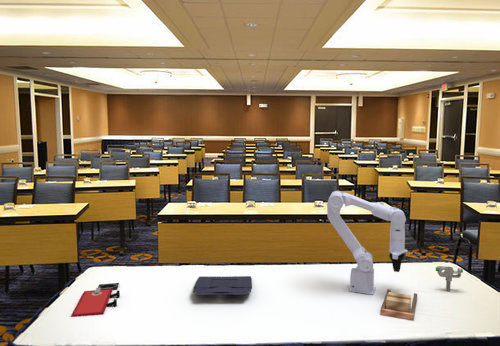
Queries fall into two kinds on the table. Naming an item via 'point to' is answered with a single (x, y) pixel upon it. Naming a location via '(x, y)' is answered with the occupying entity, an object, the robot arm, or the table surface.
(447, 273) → the mechanical component
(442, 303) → the table surface
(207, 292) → the dark grey flat slab
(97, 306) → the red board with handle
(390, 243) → the robot arm
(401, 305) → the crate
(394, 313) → the bay
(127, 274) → the table surface
